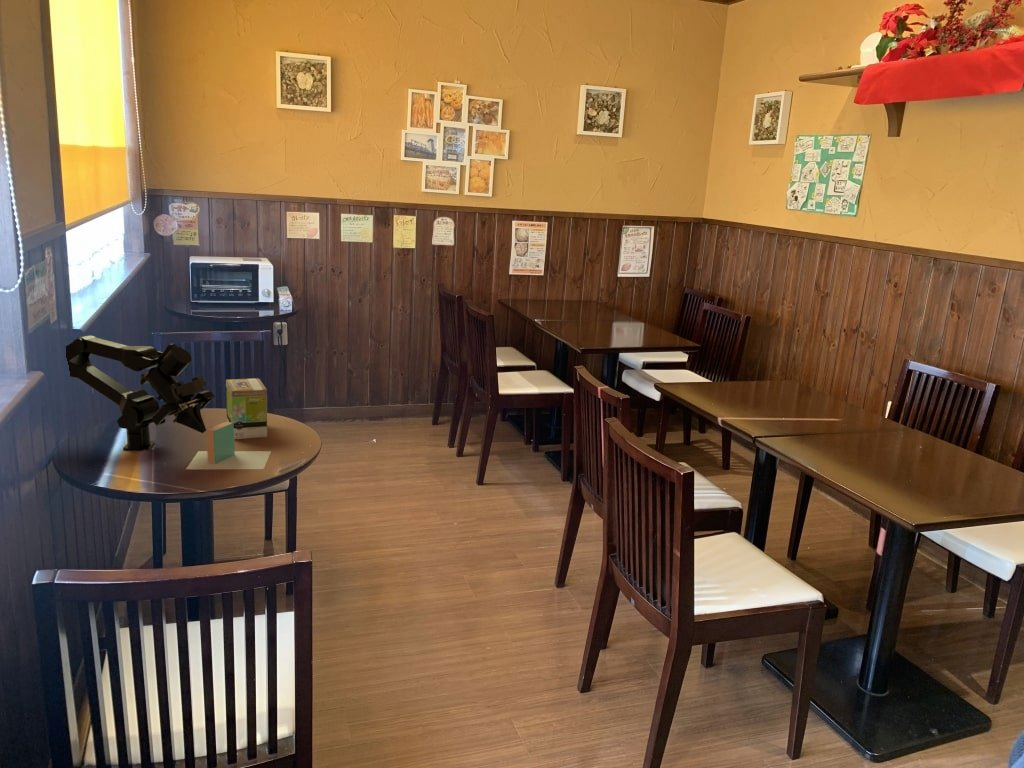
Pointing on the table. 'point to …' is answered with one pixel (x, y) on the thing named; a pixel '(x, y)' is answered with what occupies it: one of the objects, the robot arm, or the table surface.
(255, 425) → the tea box
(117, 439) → the table surface
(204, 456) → the mat
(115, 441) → the table surface
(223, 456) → the tile
